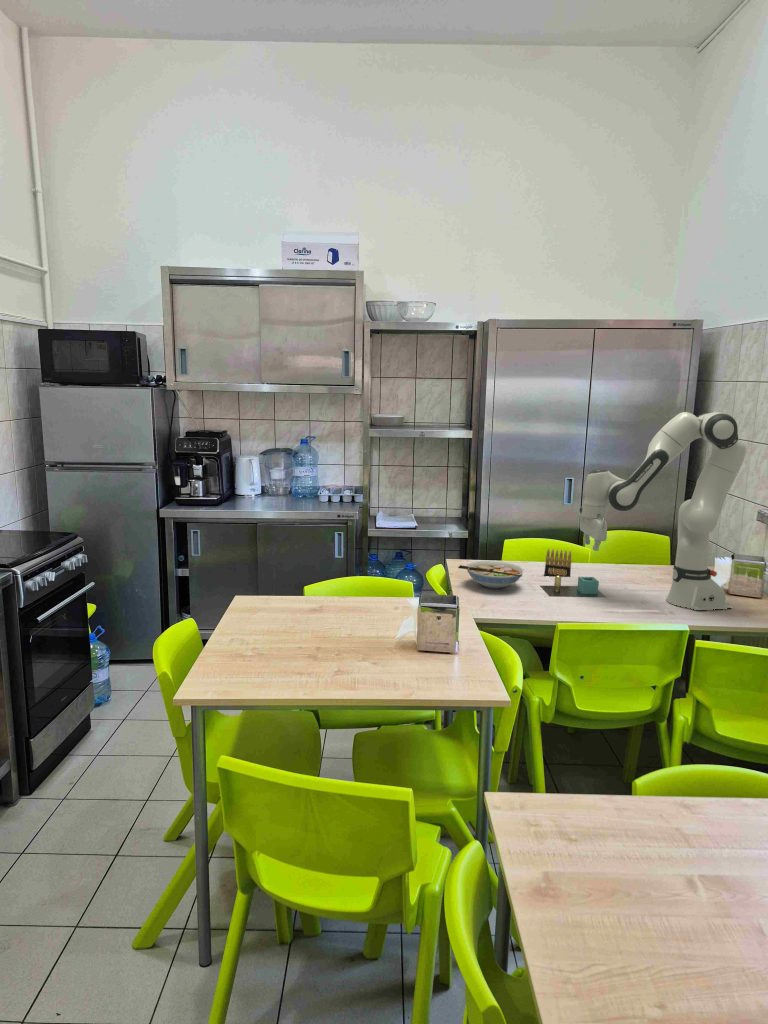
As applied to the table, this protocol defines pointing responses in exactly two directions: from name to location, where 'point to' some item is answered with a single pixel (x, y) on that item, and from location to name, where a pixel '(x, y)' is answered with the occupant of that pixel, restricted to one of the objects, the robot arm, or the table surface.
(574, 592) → the plate
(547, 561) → the ammunition clip
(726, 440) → the robot arm
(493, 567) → the ramen bowl
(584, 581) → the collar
